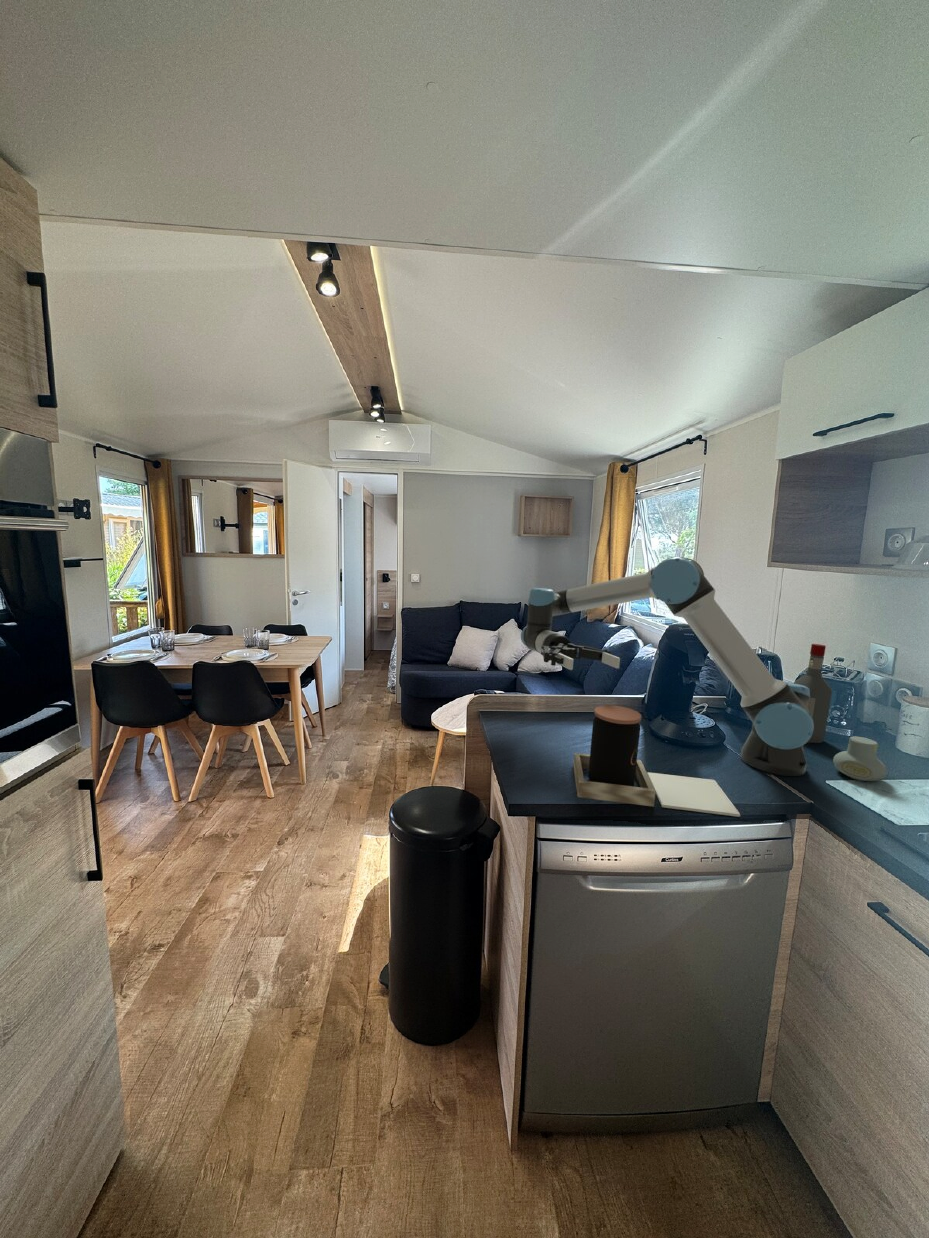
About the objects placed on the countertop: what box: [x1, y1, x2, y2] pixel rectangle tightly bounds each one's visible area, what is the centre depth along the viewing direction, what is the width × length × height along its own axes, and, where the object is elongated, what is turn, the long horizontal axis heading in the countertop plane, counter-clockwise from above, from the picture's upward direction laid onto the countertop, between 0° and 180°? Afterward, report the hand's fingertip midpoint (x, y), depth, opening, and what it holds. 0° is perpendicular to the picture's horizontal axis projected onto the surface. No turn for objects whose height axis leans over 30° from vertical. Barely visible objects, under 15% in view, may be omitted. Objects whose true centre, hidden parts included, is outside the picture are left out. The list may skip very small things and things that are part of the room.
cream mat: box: [646, 771, 741, 818], centre depth 114 cm, size 16×16×1 cm
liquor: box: [793, 643, 833, 744], centre depth 153 cm, size 9×9×30 cm
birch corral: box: [572, 752, 656, 807], centre depth 116 cm, size 16×16×4 cm
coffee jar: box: [587, 704, 642, 787], centre depth 115 cm, size 11×11×18 cm
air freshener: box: [832, 735, 888, 782], centre depth 128 cm, size 11×8×10 cm
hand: (595, 663), depth 122 cm, fingers open, 13 cm apart
